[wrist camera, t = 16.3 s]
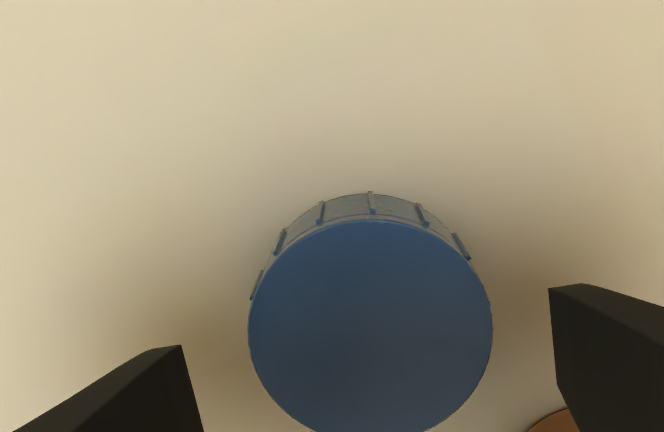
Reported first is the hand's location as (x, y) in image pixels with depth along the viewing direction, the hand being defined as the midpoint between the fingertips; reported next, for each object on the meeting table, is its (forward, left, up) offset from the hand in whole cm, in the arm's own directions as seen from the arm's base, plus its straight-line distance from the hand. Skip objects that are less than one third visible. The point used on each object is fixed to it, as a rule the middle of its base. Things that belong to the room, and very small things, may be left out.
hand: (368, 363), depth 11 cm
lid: (0, 0, -1) cm, 1 cm away
